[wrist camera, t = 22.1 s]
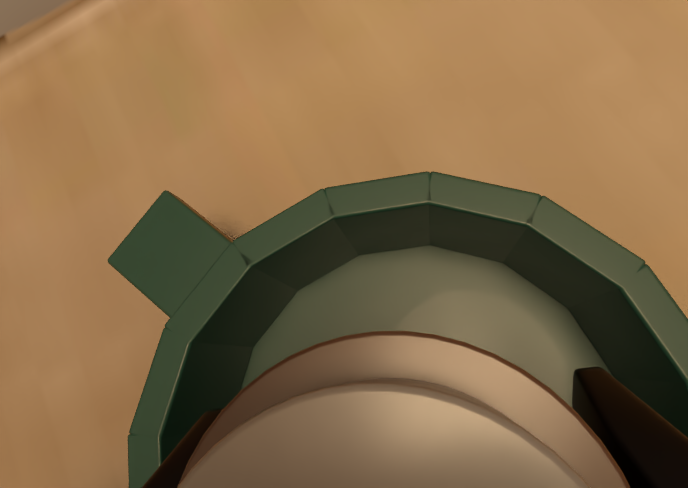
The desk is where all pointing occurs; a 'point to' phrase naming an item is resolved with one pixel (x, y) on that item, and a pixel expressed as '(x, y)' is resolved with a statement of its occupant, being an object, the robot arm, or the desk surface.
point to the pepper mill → (399, 423)
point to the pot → (393, 294)
